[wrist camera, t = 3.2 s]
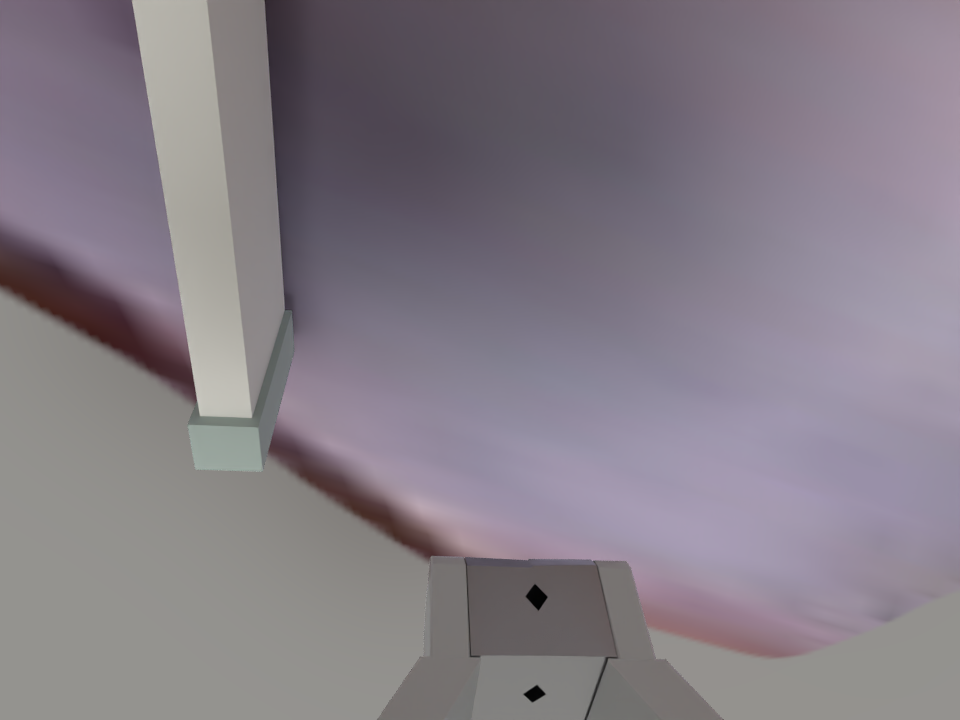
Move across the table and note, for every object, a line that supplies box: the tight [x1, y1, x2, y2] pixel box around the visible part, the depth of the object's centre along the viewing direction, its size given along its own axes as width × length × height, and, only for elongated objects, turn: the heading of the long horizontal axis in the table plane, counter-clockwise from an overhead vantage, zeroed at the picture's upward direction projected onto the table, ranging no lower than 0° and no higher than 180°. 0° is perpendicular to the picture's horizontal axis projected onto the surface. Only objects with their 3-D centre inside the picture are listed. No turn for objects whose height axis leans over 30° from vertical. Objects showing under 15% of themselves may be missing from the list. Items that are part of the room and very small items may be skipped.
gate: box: [132, 0, 294, 472], centre depth 19 cm, size 20×2×6 cm, turn 174°
